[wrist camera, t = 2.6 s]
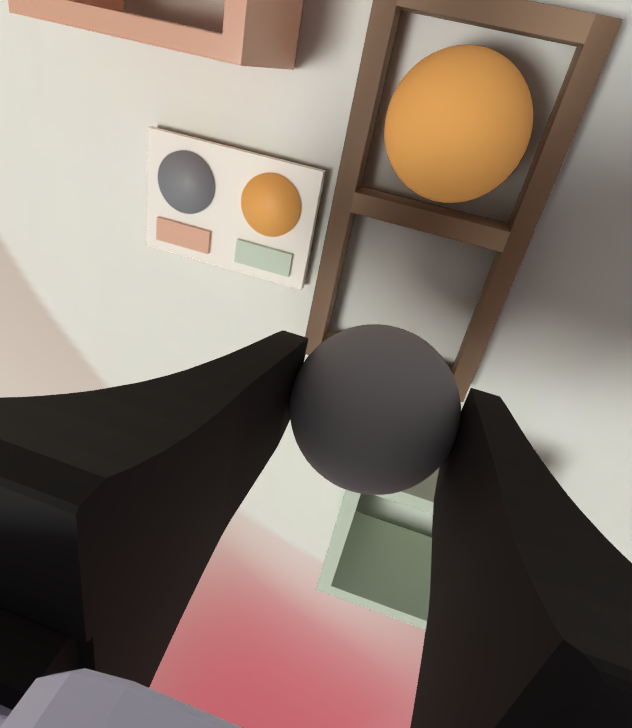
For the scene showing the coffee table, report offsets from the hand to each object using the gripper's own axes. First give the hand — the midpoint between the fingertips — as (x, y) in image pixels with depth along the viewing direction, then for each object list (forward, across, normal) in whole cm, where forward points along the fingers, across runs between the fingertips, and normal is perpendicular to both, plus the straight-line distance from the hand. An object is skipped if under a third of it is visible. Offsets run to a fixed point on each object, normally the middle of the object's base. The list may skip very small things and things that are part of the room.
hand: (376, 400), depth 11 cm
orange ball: (+5, 0, -5) cm, 7 cm away
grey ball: (0, 0, 0) cm, 0 cm away
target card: (+7, +7, -1) cm, 10 cm away
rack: (+7, 0, -3) cm, 7 cm away
